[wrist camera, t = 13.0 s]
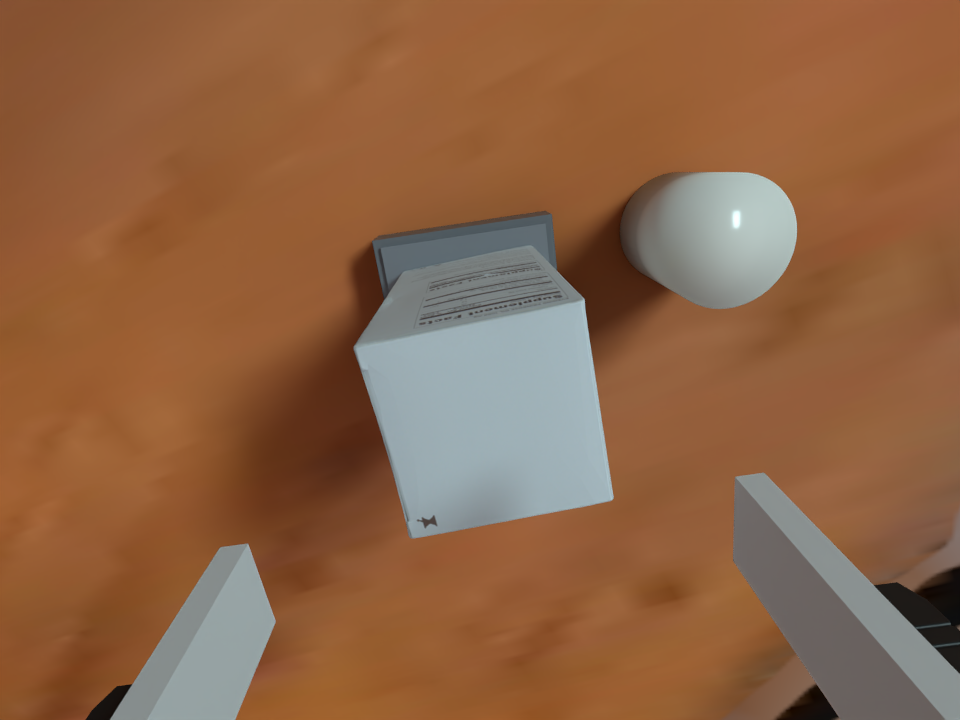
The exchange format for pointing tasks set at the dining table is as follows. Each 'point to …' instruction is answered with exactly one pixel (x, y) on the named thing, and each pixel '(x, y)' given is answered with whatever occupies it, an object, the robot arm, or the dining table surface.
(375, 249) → the plate
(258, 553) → the dining table surface
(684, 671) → the dining table surface
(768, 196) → the white rounded knob
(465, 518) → the supplement box
